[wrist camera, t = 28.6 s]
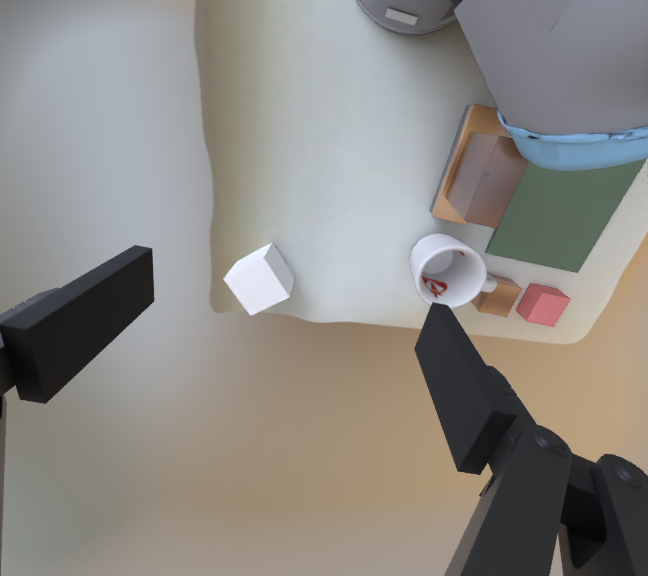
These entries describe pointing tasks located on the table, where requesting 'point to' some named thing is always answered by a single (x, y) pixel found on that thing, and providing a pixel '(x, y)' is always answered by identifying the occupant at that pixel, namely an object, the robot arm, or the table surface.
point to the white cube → (261, 279)
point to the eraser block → (542, 305)
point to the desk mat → (560, 214)
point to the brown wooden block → (479, 171)
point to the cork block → (498, 297)
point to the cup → (448, 271)
